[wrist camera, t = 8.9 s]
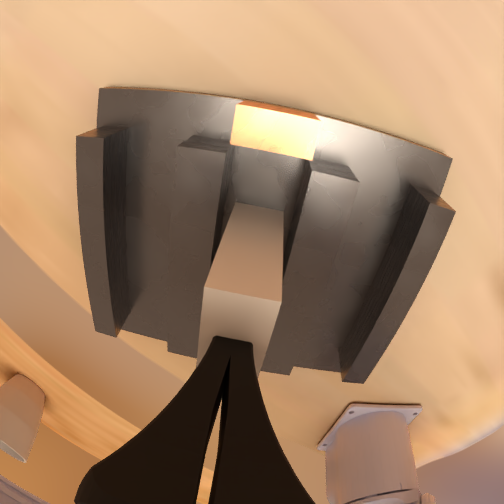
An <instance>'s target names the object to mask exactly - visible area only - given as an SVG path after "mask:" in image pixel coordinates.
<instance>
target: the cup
mask: <svg viewBox="0 0 504 504" xmlns="http://www.w3.org/2000/svg"><path fill="white" fill-rule="evenodd" d="M44 402H45V394H44V393H43V391H42V390H41V389H40V388H39V387H38V386H37V385H36V384H35V383H34V382H32V381H31V380H30V379H28V378H27V377H25V376H23V375H20V374H16V375H15V376H14V377H12V378H11V379H10V380H8V381H7V382H5V383H4V384H3V385H2V386H1V387H0V449H2V450H3V451H5V452H6V453H8V454H9V455H11V456H12V457H14V458H16V459H18V460H20V461H22V462H25V463H26V461H27V458H28V456H29V453H30V451H31V448H32V445H33V443H34V440H35V438H36V435H37V431H38V428H39V424H40V421H41V418H42V414H43V408H44Z"/></svg>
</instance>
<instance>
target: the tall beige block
mask: <svg viewBox="0 0 504 504" xmlns="http://www.w3.org/2000/svg"><path fill="white" fill-rule="evenodd" d="M283 222H284V212H283V211H278V210H273V209H268V208H263V207H258V206H253V205H248V204H243V203H238V202H235V205H234V208H233V210H232V213H231V215H230V218H229V221H228V223H227V226H226V229H225V231H224V234H223V237H222V239H221V242H220V245H219V247H218V250H217V253H216V255H215V258H214V261H213V264H212V266H211V269H210V272H209V274H208V277H207V280H206V283H205V286H204V292H203V301H202V311H201V321H200V331H199V342H198V353H197V365H196V368H197V366H198V365H199V363H200V362H201V360H202V358H203V357H204V355H205V353H206V351H207V349H208V347H209V345H210V343H211V341H212V338H213V337H214V336H216V335H217V336H222V337H227V338H232V339H237V340H242V341H248V342H251V343H252V344H253V354H254V362H255V369H256V374H257V379H258V376H259V373H260V370H261V367H262V364H263V361H264V357H265V354H266V351H267V348H268V345H269V342H270V338H271V335H272V332H273V329H274V326H275V322H276V319H277V316H278V313H279V309H280V306H281V303H282V272H283ZM221 400H222V399H221Z"/></svg>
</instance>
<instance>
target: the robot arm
mask: <svg viewBox="0 0 504 504" xmlns="http://www.w3.org/2000/svg"><path fill="white" fill-rule="evenodd" d="M221 399H222V406H221V419H220V430H219V444H218V452H217V459H216V465H215V470H214V476H213V481H212V487H211V492H210V497H209V503H208V504H315V502H314V501H313V500H312V498H311V497H310V496H309V494H308V493H307V491H306V490H305V488H304V487H303V486H302V484H301V482H300V481H299V479H298V478H297V476H296V474H295V473H294V471H293V469H292V467H291V465H290V464H289V462H288V460H287V458H286V456H285V454H284V453H283V450H282V448H281V446H280V444H279V442H278V440H277V437H276V435H275V433H274V430H273V428H272V425H271V423H270V420H269V417H268V414H267V411H266V408H265V405H264V402H263V399H262V395H261V391H260V387H259V383H258V379H257V374H256V369H255V362H254V354H253V344H252V343H251V342H248V341H242V340H237V339H232V338H227V337H222V336H217V335H216V336H214V337H213V338H212V341H211V343H210V345H209V347H208V349H207V351H206V353H205V355H204V357H203V358H202V360H201V362H200V363H199V365H198V366H197V368H196V369H195V371H194V372H193V374H192V375H191V376H190V378H189V379H188V381H187V382H186V383H185V384H184V386H183V387H182V388H181V390H180V391H179V392H178V394H177V395H176V396H175V397H174V398H173V399H172V400H171V402H170V403H169V404H168V405H167V406H166V407H165V408H164V409H163V411H161V412H160V414H159V415H158V416H157V417H156V418H154V419H153V420H152V421H151V422H150V423H149V424H148V425H147V426H146V427H145V428H144V429H143V430H142V431H140V432H139V433H138V434H137V435H136V436H135V437H133V438H132V439H131V440H129V441H128V442H127V443H126V444H124V445H123V446H122V447H121V448H119V449H118V450H117V451H115V452H114V453H112V454H111V455H109V456H108V457H106V458H105V459H103V460H102V461H100V462H98V463H97V464H95V465H94V466H92V467H91V469H90V470H89V471H88V473H87V474H86V475H85V477H84V478H83V480H82V482H81V484H80V485H79V488H78V491H77V494H76V496H75V500H74V502H75V504H196V500H197V495H198V490H199V485H200V479H201V474H202V469H203V463H204V459H205V454H206V450H207V445H208V442H209V439H210V436H211V432H212V429H213V426H214V422H215V419H216V416H217V412H218V409H219V406H220V402H221ZM421 411H422V406H420V405H373V404H351V405H349V406H348V407H347V409H346V410H345V411H344V413H343V414H342V415H341V417H340V418H339V419H338V420H337V422H336V423H335V424H334V426H333V427H332V428H331V429H330V431H329V432H328V433H327V434H326V436H325V437H324V438H323V439H322V441H321V442H320V443H319V444H318V445H317V449H318V450H325V456H326V495H327V499H328V501H329V503H330V504H436V500H435V497H434V496H432V495H430V494H428V493H426V494H423V495H422V494H421V493H420V491H419V486H418V479H417V473H416V467H415V461H414V456H413V451H412V445H411V440H410V435H409V431H408V426H407V425H408V424H409V423H410V422H411V421H412V420H413V419H414V418H415V417H416V416H417V415H418V414H419V413H420V412H421ZM0 504H50V503H48V502H46V501H44V500H42V499H40V498H38V497H36V496H35V495H33V494H31V493H29V492H28V491H26V490H24V489H22V488H21V487H19V486H17V485H16V484H14V483H12V482H11V481H9V480H8V479H6V478H4V477H3V476H1V475H0Z"/></svg>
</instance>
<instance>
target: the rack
mask: <svg viewBox="0 0 504 504" xmlns="http://www.w3.org/2000/svg"><path fill="white" fill-rule="evenodd" d="M451 162H452V158H450V157H449V156H447V155H445V154H443V153H440V152H438V151H435V150H433V149H430V148H427V147H425V146H422V145H419V144H417V143H414V142H411V141H408V140H405V139H402V138H400V137H397V136H394V135H391V134H387V133H384V132H381V131H378V130H375V129H372V128H368V127H365V126H362V125H358V124H355V123H351V122H347V121H344V120H340V119H336V118H332V117H329V116H325V115H321V114H316V113H312V112H308V111H304V110H299V109H295V108H290V107H285V106H280V105H275V104H270V103H265V102H259V101H253V100H247V99H241V98H235V97H228V96H221V95H213V94H205V93H197V92H187V91H177V90H164V89H150V88H128V87H105V88H99V99H98V113H97V128H96V129H94V130H91V131H88V132H85V133H83V134H80V135H78V136H76V172H77V196H78V212H79V224H80V235H81V244H82V253H83V261H84V268H85V275H86V282H87V288H88V294H89V300H90V305H91V311H92V316H93V321H94V326H95V330H96V331H97V332H100V333H104V334H106V335H110V336H113V337H117V335H118V334H119V332H120V330H121V329H122V330H126V331H129V332H133V333H136V334H140V335H144V336H148V337H151V338H155V339H159V340H163V341H167V342H168V352H172V353H176V354H180V355H184V356H189V357H193V358H197V353H198V342H199V331H200V321H201V311H202V301H203V292H204V286H205V283H206V280H207V277H208V274H209V272H210V269H211V266H212V264H213V261H214V258H215V255H216V253H217V250H218V247H219V245H220V242H221V239H222V237H223V234H224V231H225V229H226V226H227V223H228V221H229V218H230V215H231V213H232V210H233V208H234V205H235V202H238V203H243V204H248V205H253V206H258V207H263V208H268V209H273V210H278V211H283V212H284V222H283V272H282V303H281V306H280V309H279V313H278V316H277V319H276V322H275V326H274V329H273V332H272V335H271V338H270V342H269V345H268V348H267V351H266V354H265V357H264V361H263V364H262V367H261V370H260V371H265V372H271V373H277V374H284V375H290V373H291V370H292V368H293V366H296V367H303V368H310V369H318V370H326V371H334V372H341V378H342V382H350V383H362V384H364V382H365V381H366V379H367V378H368V376H369V375H370V373H371V372H372V370H373V369H374V367H375V366H376V364H377V363H378V361H379V359H380V358H381V356H382V355H383V353H384V352H385V350H386V348H387V347H388V345H389V344H390V342H391V340H392V339H393V337H394V335H395V334H396V332H397V330H398V329H399V327H400V325H401V323H402V322H403V320H404V318H405V316H406V315H407V313H408V311H409V309H410V307H411V306H412V304H413V302H414V300H415V298H416V296H417V294H418V292H419V291H420V289H421V287H422V285H423V283H424V281H425V279H426V277H427V275H428V273H429V271H430V269H431V267H432V265H433V263H434V260H435V258H436V256H437V254H438V252H439V250H440V247H441V245H442V243H443V241H444V238H445V236H446V234H447V232H448V229H449V227H450V224H451V222H452V220H453V217H454V215H455V212H456V211H455V210H454V209H453V208H452V207H450V206H449V205H448V204H447V203H446V202H445V201H444V200H443V199H442V198H441V197H440V194H441V192H442V189H443V186H444V183H445V180H446V177H447V174H448V171H449V168H450V165H451Z"/></svg>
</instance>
